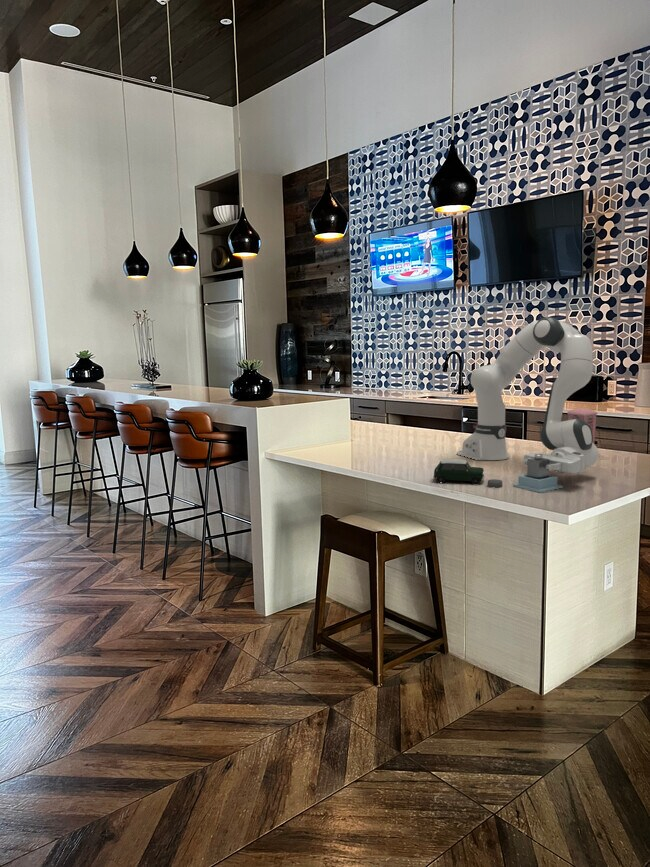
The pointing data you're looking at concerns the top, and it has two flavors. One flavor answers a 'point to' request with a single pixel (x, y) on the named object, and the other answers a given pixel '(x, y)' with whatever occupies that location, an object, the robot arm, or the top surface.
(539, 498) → the top surface
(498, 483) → the dark grey rounded pebble
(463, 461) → the miniature car
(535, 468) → the grey knobbed metal block
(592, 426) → the pink vented box
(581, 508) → the top surface
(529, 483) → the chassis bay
